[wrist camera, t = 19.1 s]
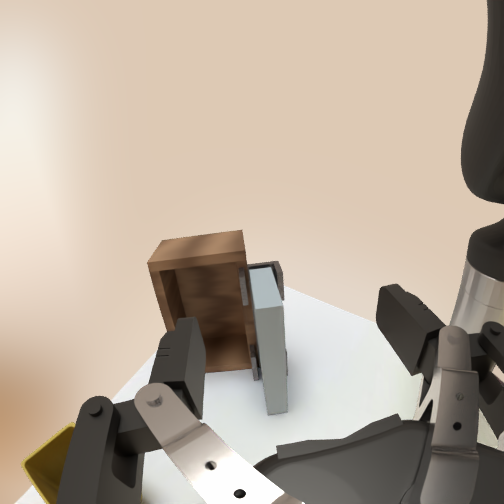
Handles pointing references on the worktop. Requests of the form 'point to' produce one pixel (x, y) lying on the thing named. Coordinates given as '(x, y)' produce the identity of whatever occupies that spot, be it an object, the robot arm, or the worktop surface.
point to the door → (270, 338)
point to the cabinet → (207, 294)
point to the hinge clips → (279, 281)
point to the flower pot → (49, 464)
